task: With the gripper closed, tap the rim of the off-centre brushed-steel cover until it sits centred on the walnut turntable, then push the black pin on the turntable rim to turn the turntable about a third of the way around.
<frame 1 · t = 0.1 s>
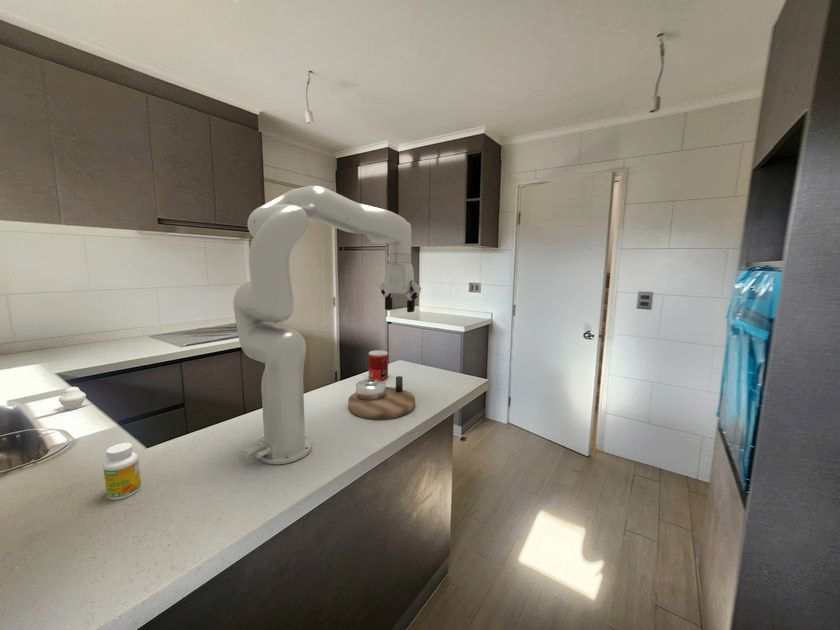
hand: (399, 310, 120), 31 cm above the countertop, tool pointing down, fingers open, 9 cm apart
muffin: (74, 408, 112), on the countertop
cover: (371, 395, 120), point 2 cm above the countertop, touching turntable
turntable: (381, 394, 117), point 4 cm above the countertop, hinge at 0.0°, touching cover
supplement bottle: (124, 492, 72), on the countertop
canned food: (378, 378, 145), on the countertop
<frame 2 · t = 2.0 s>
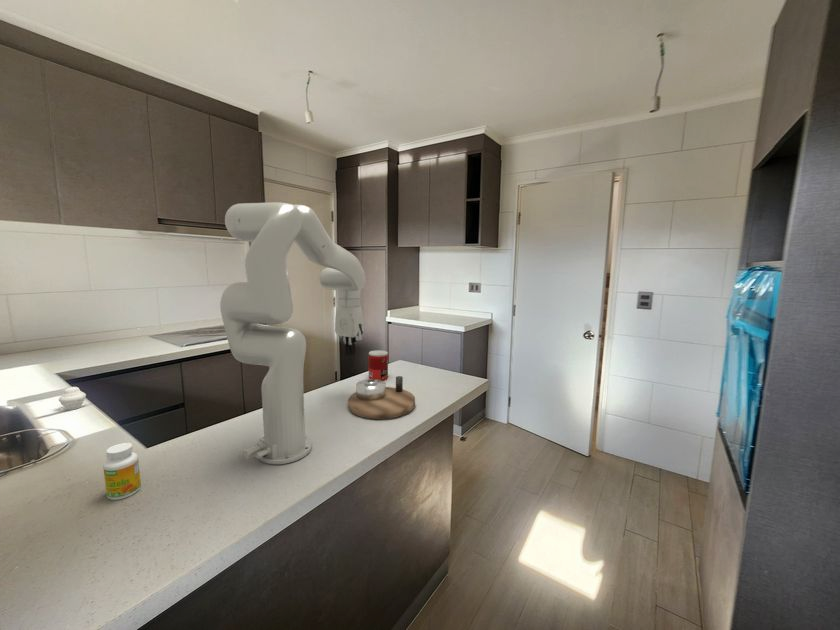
hand: (350, 354, 124), 15 cm above the countertop, tool pointing down, fingers closed
nothing on the countertop moved.
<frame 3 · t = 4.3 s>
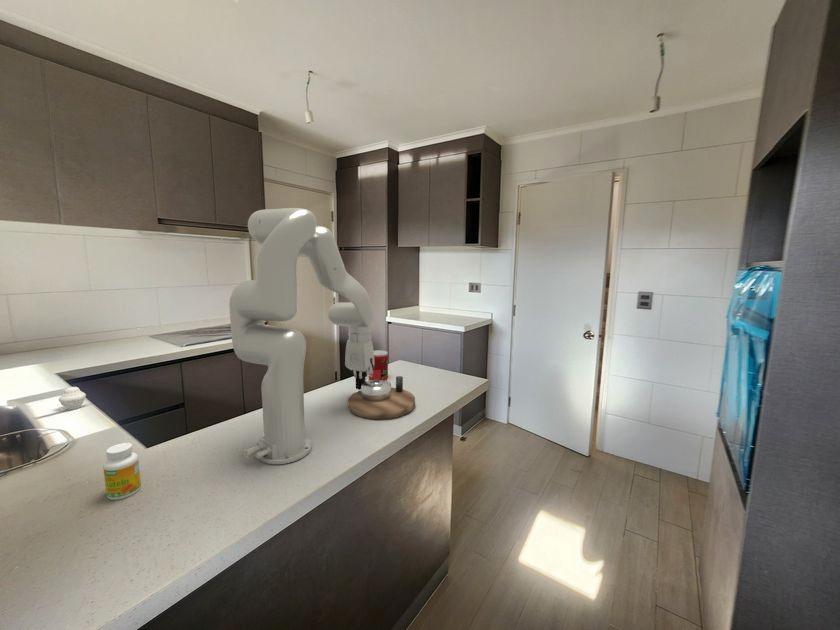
hand: (360, 388, 123), 4 cm above the countertop, tool pointing down, fingers closed
cover: (376, 395, 119), point 3 cm above the countertop
turntable: (381, 394, 117), point 4 cm above the countertop, hinge at -0.4°
everything else where it was.
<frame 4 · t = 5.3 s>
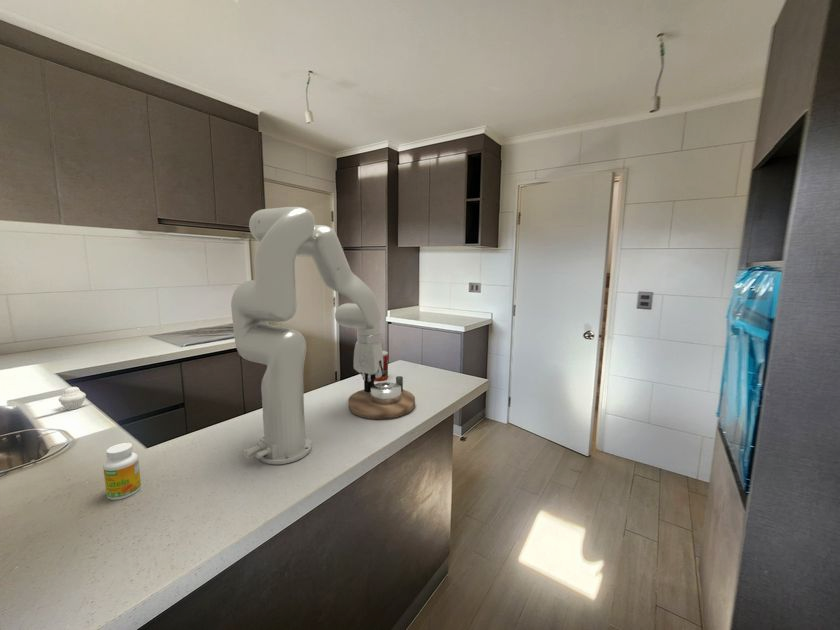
hand: (369, 391, 120), 4 cm above the countertop, tool pointing down, fingers closed
cover: (386, 398, 117), point 2 cm above the countertop, touching gripper, turntable
turntable: (381, 394, 117), point 4 cm above the countertop, hinge at -0.6°, touching cover
everything else where it was.
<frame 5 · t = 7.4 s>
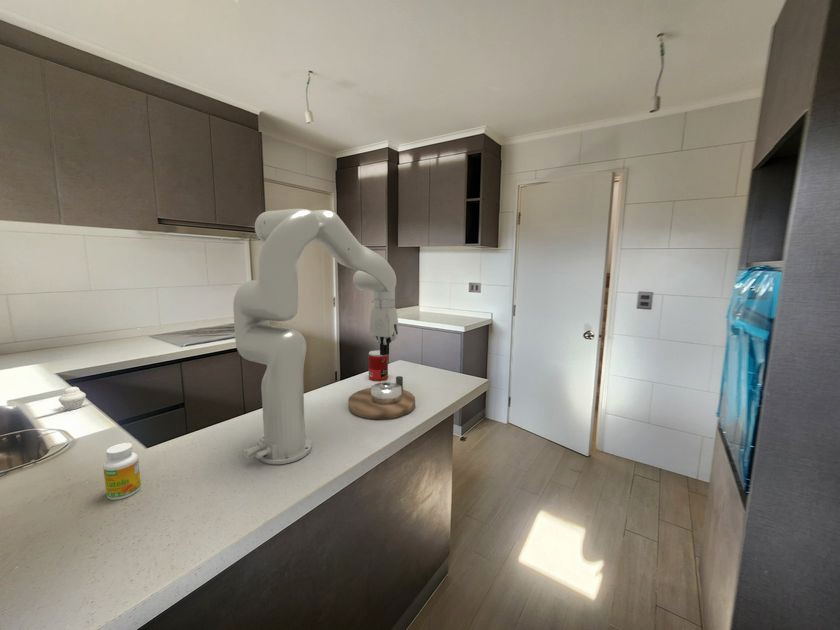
hand: (384, 354, 127), 14 cm above the countertop, tool pointing down, fingers closed
cover: (386, 398, 117), point 2 cm above the countertop, touching turntable
everything else where it was.
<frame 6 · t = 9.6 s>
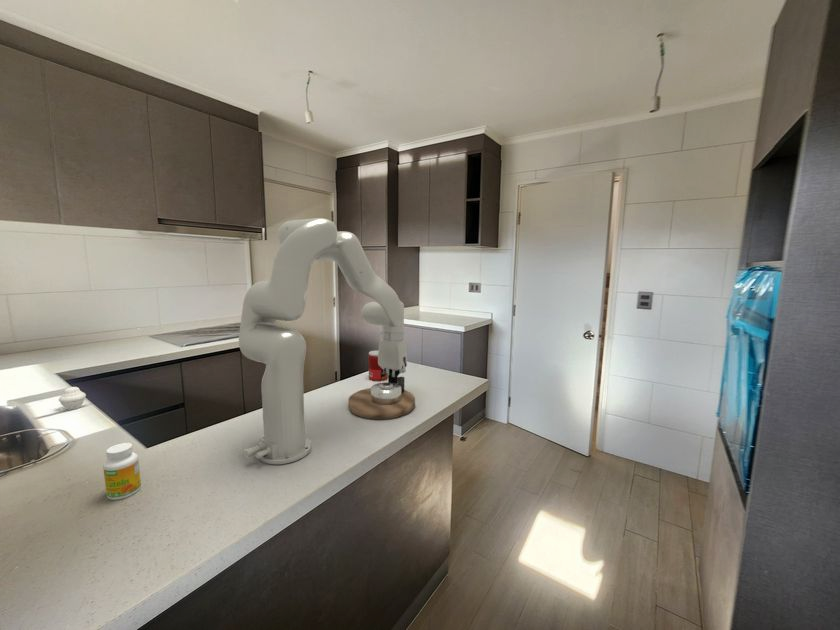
hand: (392, 386, 126), 4 cm above the countertop, tool pointing down, fingers closed
turntable: (381, 394, 117), point 4 cm above the countertop, hinge at -5.5°, touching cover, gripper
everything else where it was.
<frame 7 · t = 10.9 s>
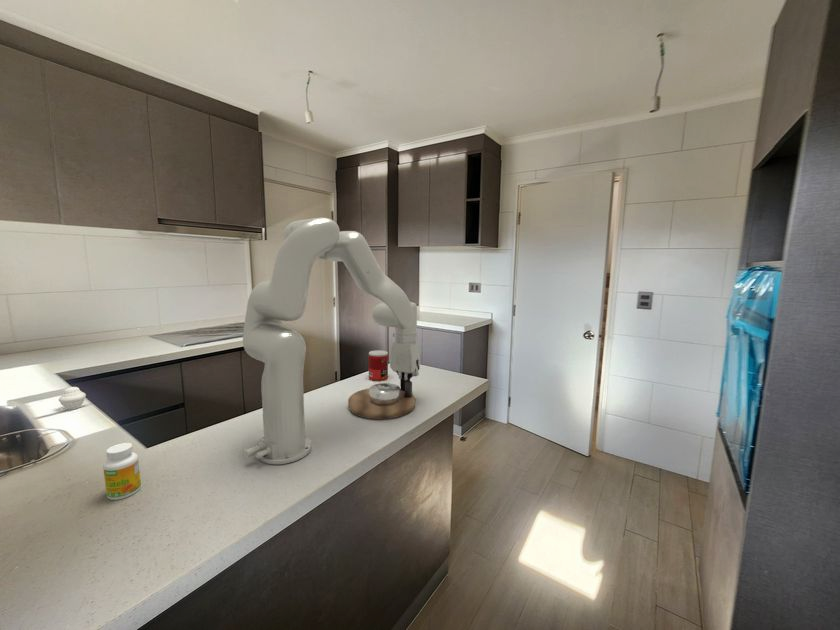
hand: (405, 389, 122), 4 cm above the countertop, tool pointing down, fingers closed
turntable: (381, 394, 117), point 4 cm above the countertop, hinge at -39.4°, touching cover, gripper
everything else where it was.
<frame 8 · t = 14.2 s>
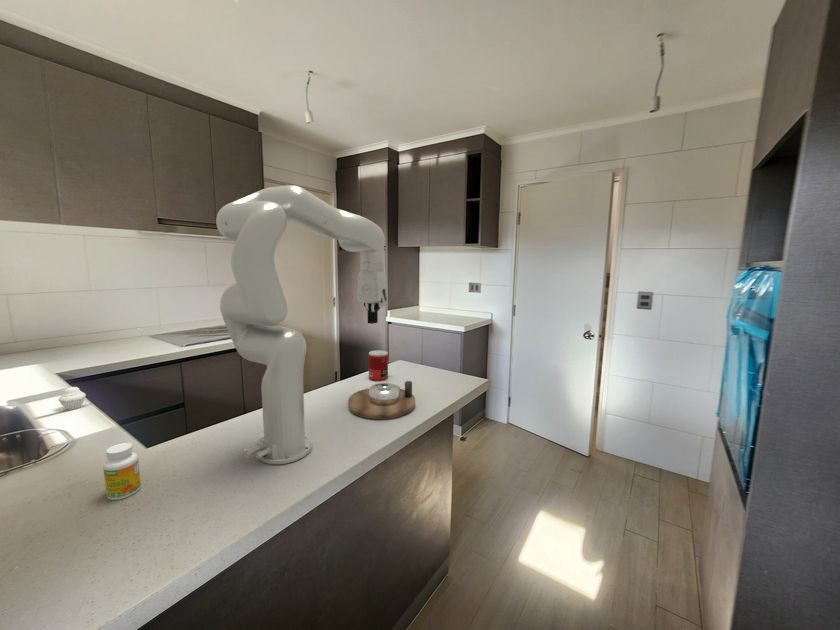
hand: (372, 322, 118), 27 cm above the countertop, tool pointing down, fingers closed
turntable: (381, 394, 117), point 4 cm above the countertop, hinge at -39.4°, touching cover
everything else where it was.
at the end: cover 1.5 cm from the turntable (horizontally); turntable at -39° (first picture: +0°); cover tilted 0° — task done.
